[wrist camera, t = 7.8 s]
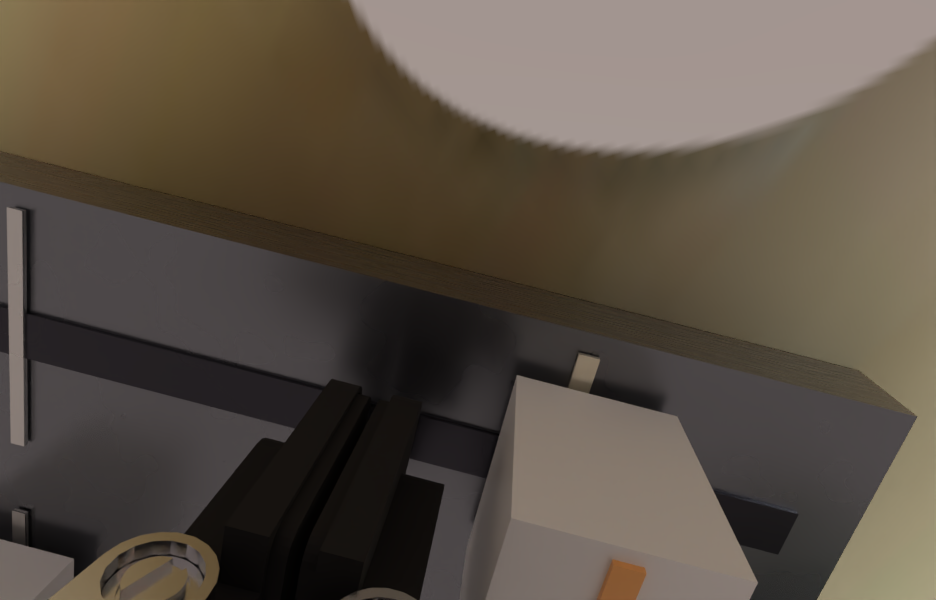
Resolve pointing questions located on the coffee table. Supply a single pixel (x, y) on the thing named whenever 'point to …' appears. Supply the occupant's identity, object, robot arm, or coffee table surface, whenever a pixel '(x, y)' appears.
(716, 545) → the fader
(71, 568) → the fader
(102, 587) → the robot arm
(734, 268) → the coffee table surface
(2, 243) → the console
